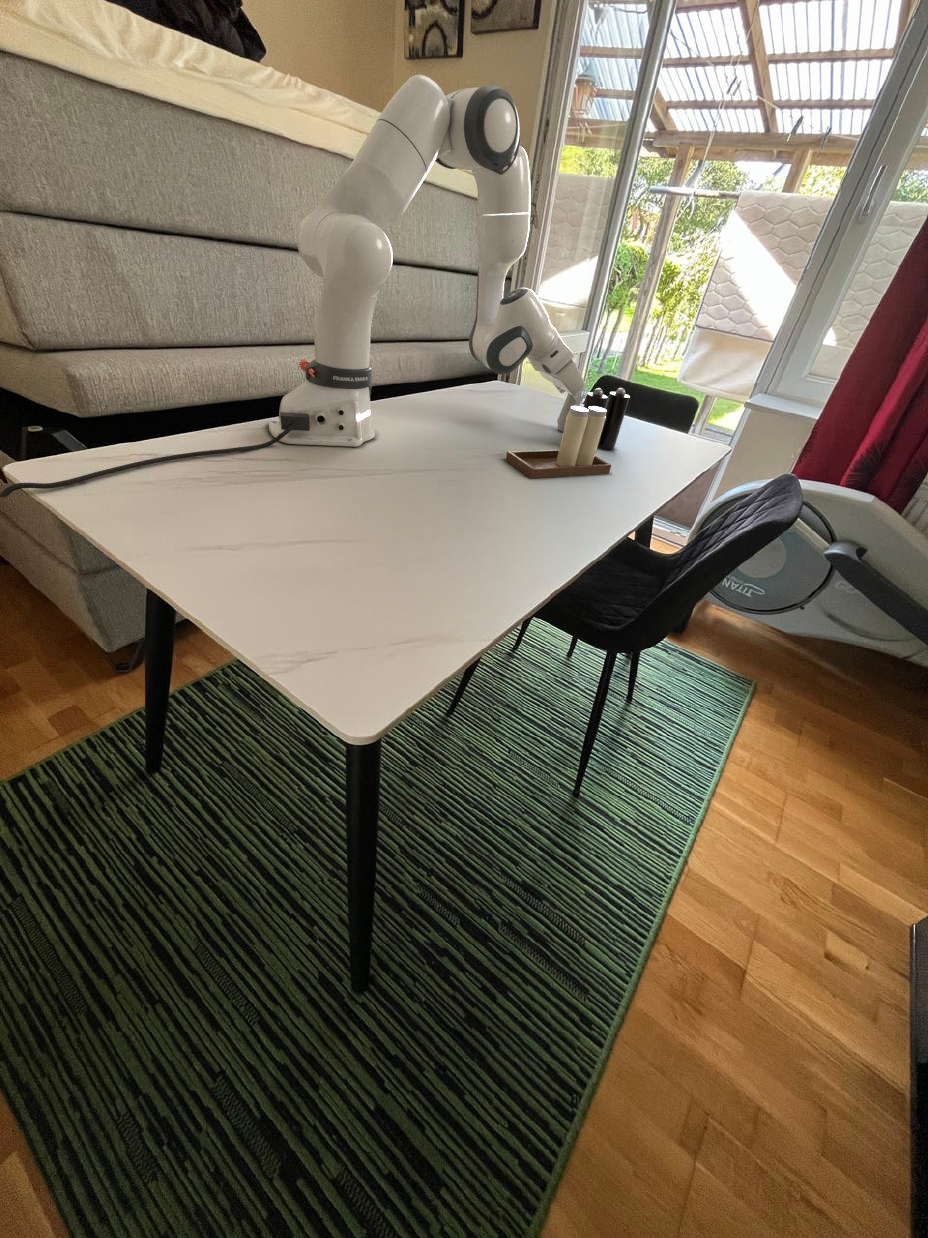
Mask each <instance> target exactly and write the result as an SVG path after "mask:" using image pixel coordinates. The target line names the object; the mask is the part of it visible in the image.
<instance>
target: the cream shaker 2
mask: <svg viewBox="0 0 928 1238" xmlns="http://www.w3.org/2000/svg"><path fill="white" fill-rule="evenodd" d="M588 410H589V413H588V420H587V423H586V427H585V431H584V435H583V438H582V442H581V446H580V449H579V453H578V457H577V460H576V465H579V466H580V465H592V463H593V460H594V457H595V456H596V453H597V449H598V448H597V446H598V443H599V439H600V436H601V433H602V429H603V426H604V422H605V419H606V416H605V415H606V412H607V410H605V409H603V408H600V407H595V406H590V407H589V408H588Z"/></svg>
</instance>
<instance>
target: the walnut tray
mask: <svg viewBox="0 0 928 1238" xmlns="http://www.w3.org/2000/svg"><path fill="white" fill-rule="evenodd" d="M558 451H559V449H537V450H536V449H534V450H533V449H532V450H508V451H506V456H505V461H506V462H508V463H509V464H510V465H512V466H513V467H514V468H516V469H517V470H519V471H520V472H521V473H523V474H524V475H525V476H527V477H528V478H530V479H544V478H545V479H547V478H560V477H562V478H563V477H578V476H592V475H593V476H594V475H606V474H607V475H609V474H610V472H611V469H612V464H611V463H609V462H607V461H605V460H603V459H602V458H600V457H598V456H596V455H595V457H594V460H593V463H592V465H580V466H579V465H576V464H575V466H559V465H557V464H556V460H557V455H558Z"/></svg>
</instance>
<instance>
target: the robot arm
mask: <svg viewBox="0 0 928 1238" xmlns="http://www.w3.org/2000/svg"><path fill="white" fill-rule="evenodd" d="M513 99H514V98H513V97H512V96H511V94H510V93H509V92H508V91H506V90H505V89H504V88H503V87H499V86H496V85H491V84H489V85H488V84H486V85H483V86H479V87H477V86H476V87H465V88H461V89H458V90H455V91H453V92H450V93H448V94H447V93H446V94H445V93H444V91H443V89H442V88H441V86H440V85H439V84H438V83H437V82H436V81H434V80H433V79H432V78H430V77H429V76H427V75H424V74H414V75H412V76H410V77H409V78H408V79H407V80H406V81H405V82H404V83H403V84H402V85H401V86H400V88H398V90H397V91H396V92H395V93H394V95H393V96H392V97H391V99H390V100H389V101H388V103H387V104H386V106H385V107H384V108H383V110H382V111H381V112H380V114H379V116H378V118H377V119H376V121H375V123H374V125H373V126H372V128H371V129H370V131H369V133H368V135H367V137H366V138H365V140H364V141H363V143H362V144H361V147H360V149H359V150H358V152H357V153H356V155H355V157H354V159H352V162H351V163H350V165H349V166H348V167H347V168H346V169H345V171H344V172H343V174H342V175H341V176H340V177H339V178H338V179H337V181H336V182H335V183H334V184H333V185H332V186H331V188H330V189H329V190H328V191H327V192H326V194H325V195H324V196H323V197H322V199H321V200H320V201H319V203H318V204H317V205H316V207H315V208H314V209H313V210H312V211H311V212H310V213H309V214H307V215H306V216H305V217H304V218H303V219H302V221H300V223H299V225H298V228H297V231H296V247H297V250H298V253H299V255H300V257H301V259H302V260H303V262H304V263H305V264H306V266H307V267H308V268H309V270H311V271H312V272H313V273H314V274H315V275H316V276H318V277H320V278H322V279H323V280H322V289H321V294H320V295H321V296H320V300H319V305H318V307H317V310H316V311H315V313H314V316H313V334H314V335H313V338H314V339H313V341H314V359H313V360H312V361H310V362H309V361H308V360H307V359H305V358H302V359H300V361H299V362H298V366H299V368H300V370H302V371H303V372H304V373H305V374H304V375H305V380H304V381H302V382H301V383H299V384H298V385H297V386H296V387H294V388H293V389H292V390H290V391H289V392H288V393H286V394H285V395H283V397H282V399H281V400H280V404H279V410H278V411H279V412H278V417H276V418H271V420H269V423H268V430H269V433H270V434H271V436H273V439H271V440H269V441H266V442H263V443H259V444H254V445H245V446H236V447H229V448H220V449H209V450H200V451H193V452H186V453H178V454H172V455H165V456H160V457H153V458H150V459H149V458H148V459H145V460H140V461H135V462H131V463H126V464H123V465H118V466H114V467H110V468H106V469H103V470H98V471H95V472H91V473H88V474H84V475H80V476H76V477H72V478H68V479H65V480H64V479H63V480H60V481H55V482H18V483H13V484H11V485H9V486H7V487H5V488H4V489H3V490H2V491H1V492H0V498H7V497H8V496H10V494H12V493H13V492H15V491H17V490H22V489H38V490H39V489H41V490H48V489H57V488H62V487H68V486H71V485H75V484H79V483H82V482H85V481H89V480H92V479H96V478H99V477H103V476H108V475H111V474H115V473H119V472H123V471H126V470H130V469H131V470H132V469H135V468H140V467H144V466H148V465H149V466H150V465H153V464H158V463H164V462H169V461H174V460H182V459H189V458H196V457H203V456H211V455H212V456H213V455H214V456H215V455H222V454H224V455H225V454H231V453H237V452H246V451H255V450H259V449H263V448H267V447H269V446H272V445H274V444H276V443H277V442H281V443H284V444H288V445H289V444H290V445H307V446H308V445H309V446H332V447H360V446H361V445H363V443H365V442H367V441H370V440H372V439H373V438H375V436H376V431H375V428H374V422H373V417H372V416H373V415H372V408H371V394H372V386H373V374H372V366H371V364H370V363H371V361H370V360H371V339H372V338H371V337H372V336H371V335H372V333H371V332H372V324H373V323H372V322H373V318H374V313H375V309H376V304H377V302H378V297H379V293H380V290H381V288H382V286H383V284H384V283H385V281H386V280H387V279H388V277H389V276H390V273H391V271H392V267H393V259H394V258H393V248H392V245H391V242H390V240H389V238H388V236H387V235H386V233H385V232H384V231H385V230H386V229H387V228H388V227H389V226H391V225H392V224H393V223H395V222H396V221H398V220H399V219H400V218H401V217H402V216H403V215H404V214H405V212H406V210H407V209H408V207H409V206H410V204H411V202H412V200H413V199H414V197H415V195H416V194H417V192H418V190H419V189H420V188H421V185H422V184H423V182H424V181H425V179H426V177H427V176H428V174H429V173H430V171H431V169H432V167H433V165H434V163H437V165H440V167H444V168H445V169H449V170H457V169H458V170H467V171H471V173H472V175H473V177H474V181H475V184H476V189H477V205H476V208H477V209H476V214H477V215H476V222H477V223H476V224H477V225H476V227H477V228H476V229H477V251H478V252H477V262H478V263H477V284H476V285H477V286H476V310H475V318H474V322H473V324H472V325H473V326H472V328H471V331H470V333H469V339H468V347H469V348H468V349H469V351H470V354H471V356H472V358H473V359H474V360H475V361H476V362H477V363H478V364H479V363H480V364H482V365H483V366H485V367H486V368H487V369H489V370H491V372H493V373H495V374H496V375H501V376H503V375H509V374H512V373H513V372H514V371H515V370H516V369H518V368H519V366H520V365H521V364H522V363H523V362H524V360H526V358H527V360H528V361H529V363H530V365H531V366H532V368H533V370H534V371H536V372H539V374H540V375H541V377H542V378H543V379H545V380H547V381H549V382H550V383H552V385H553V386H554V387H555V389H556V390H557V391H558V393H560V394H561V395H563V394H565V393H567V394H568V393H569V394H571V395H572V396H573V400H574V402H575V403H577V404H579V403H580V404H581V403H582V402H583V401H584V398H583V397H582V392H583V391H582V390H583V389H584V387H585V388H586V385H585V384H586V383H585V384H584V382H585V380H584V379H583V376H582V374H581V371H580V369H579V367H578V365H577V363H576V362H575V360H574V359H573V358H575V354H574V353H573V350H571V349H570V347H568V346H567V345H566V344H565V342H564V341H563V339H562V337H561V336H560V333H558V331H557V329H556V328H555V327H554V326H553V325H552V323H551V321H550V317H549V314H548V312H547V310H546V308H545V307H544V305H543V304H542V302H541V300H540V298H539V297H538V295H536V293H535V292H534V291H533V290H532V289H531V288H527V287H519V288H515V289H513V290H511V291H510V292H508V293H506V295H504V289H505V280H506V276H507V275H508V272H509V270H510V269H511V268H512V266H513V265H514V264H515V263H516V262H517V261H519V259H520V258H521V257H522V256H523V255H524V253H525V251H526V248H527V243H528V239H529V234H530V225H531V177H530V176H531V175H530V167H529V158H528V157H529V156H528V154H527V152H526V150H525V149H524V147H522V145H521V135H520V132H521V131H520V119H519V114H518V110H517V106H516V104H515V101H514V100H513ZM584 390H585V389H584ZM581 391H582V392H581ZM580 392H581V393H580Z"/></svg>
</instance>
